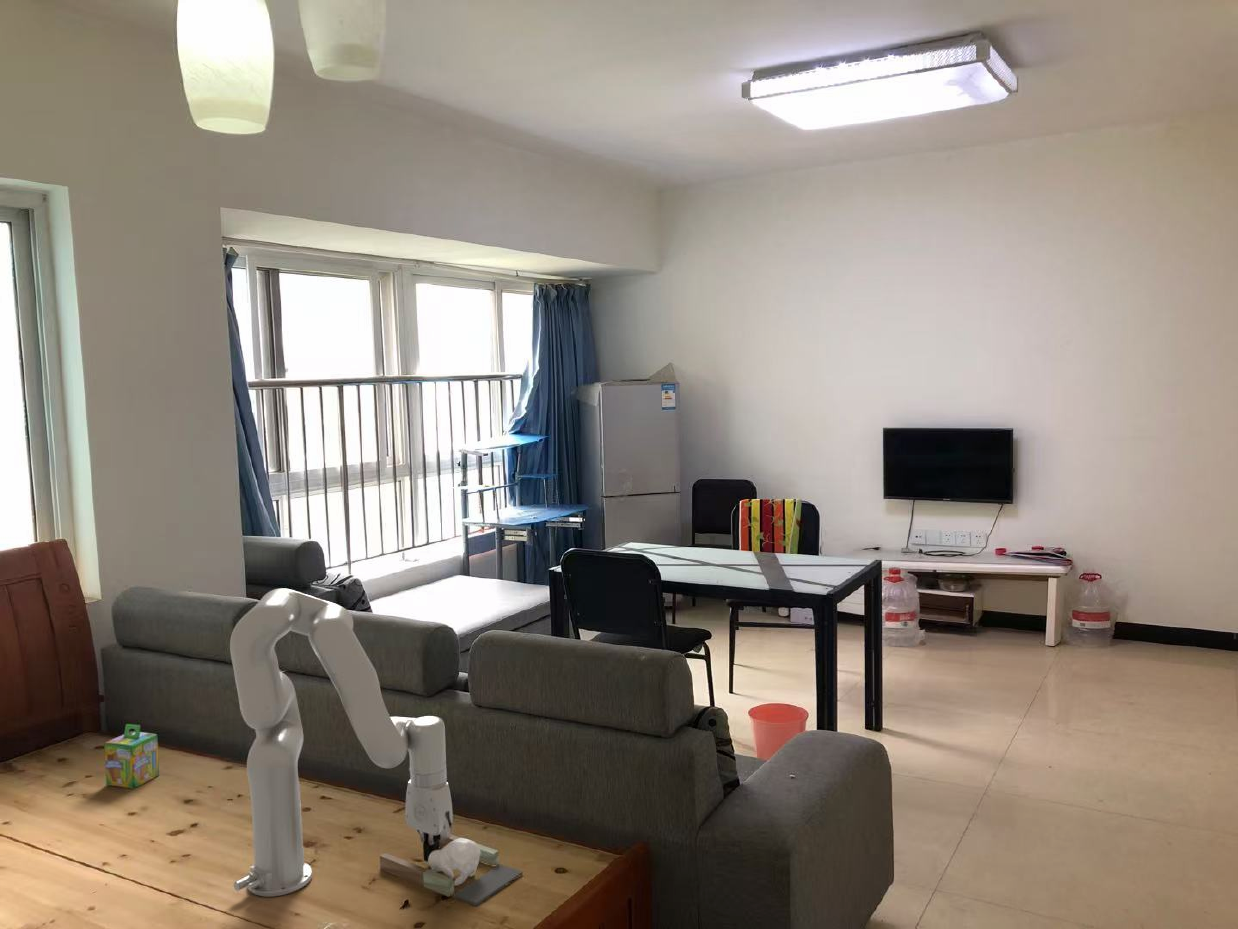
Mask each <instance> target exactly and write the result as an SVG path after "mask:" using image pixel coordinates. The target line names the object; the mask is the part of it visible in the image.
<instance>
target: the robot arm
mask: <svg viewBox="0 0 1238 929" xmlns="http://www.w3.org/2000/svg"><path fill="white" fill-rule="evenodd" d="M353 629H354V618H353V616H352V614H351V613H350V611H349V610H348V609H346V607H343V606H341V605H340V604H337V603H334V602H331V601H328V600H325V599H321V598H319V597H315V596H313V595H309V594H305V593H303V592H301V591H296V590H294V589H289V588H282V587H281V588H275V589H272V590H270V591H268V592H267V593H265V594H264V595H263V596H262V597H261V599H260V600H259V601H258V602H257V603H256V604H255V605H254V607H252V608H251V609H250V610H248V612H247V613H245V614H244V615H242V617H241V618H240V619H239V620H238V622H237V623H236V625H234V627H233V630H232V633H231V636H230V641H229V650H230V651H229V652H230V657H231V664H232V668H233V673H234V674H233V675H234V681H235V686H236V690H237V696H238V697H237V698H238V703H239V709H240V713H241V714H240V715H241V717H242V719H243V721H244V722H245V724H246V725H247V726H248V727H249V728H250V729H254V732H255V735H256V737H255V739H254V740H253V743H252V745H251V747H250V749H249V751H248V755H247V758H246V759H247V760H246V774H247V775H246V776H247V780H248V786H249V793H250V805H251V808H250V809H251V810H250V811H251V818H252V832H253V833H252V836H253V854H254V864H253V865H251V866H250V867H249V870H250V872H248V873H247V874H246V876H244V877H242V878H240V879H237V880H235V881H234V882H233V889H234V890H235V891H237V892H238V891H241V890H242V889H244V888H247V891H249V892H250V893H252V894H253V895H256V896H259V897H269V898H270V897H271V898H273V897H279V896H283V895H287V894H292V893H294V892H296V891H298V890H301V889H302V888H304V886H307V884H308V883H309V882H310V881H311V880H312V877H313V869H312V866H310V865H309V864H308V863H306V862H305V858H304V842H303V840H304V839H303V822H302V821H303V820H302V805H301V804H302V803H301V791H300V781H299V773H298V772H299V770H298V763H299V762H298V761H299V758H300V754H301V752H302V748H303V744H304V732H303V730H304V729H303V725H302V720H301V715H300V710H299V705H298V699H297V694H296V690H295V686H294V684H293V682H292V680H291V679H290V677H288V676H287V675H286V674H285V673H284V672H282V671H280V668H279V660H278V656H277V653H276V651H275V646H276V643H277V642H278V641H279V640H280V639H281V638H283V637H284V636H286V635H287V634H288V633H289V632H290V631H291V632H292V633H293V632H294V633H297V634H300V635H303V636H307V637H308V641H309V644H310V646H311V647H312V650H313V652H314V653H315V655H316V657H317V658H318V659H317V660H319V662H320V664H321V665H322V667H323V668H324V671H325V672H326V674H327V675H328V677H329V679H330V681H331V683H332V684H333V686H334V688H335V690H336V691H337V693H338V695H339V698H340V701H341V703H342V706H343V709H344V710H345V712H346V714H347V717H348V719H349V722H350V724H351V727H352V728H353V731H354V732H355V735H356V737H357V739H358V740H359V742H360V744H361V745H362V747H363V749H364V750H365V752H366V754H367V756H368V757H369V759H370V760H371V761H372V762H373V764H375V765H376V766H378V767H380V768H383V769H392V768H396V767H397V766H399V765H400V764H401V763H402V762H403V761H404V760H405V758H406V756H407V753H408V754H409V767H408V771H409V772H410V773H409V774H410V777H409V778H410V779H409V781H407V788H406V793H405V822H406V825H407V826H408V827H409V828H412V829H413V830H415V831H417V833H418V835H419V839H420V842H421V843H422V848H423V851H422V854H423V861H424V862H427V863H428V858H429V855H430V853H431V852H433V851H435V850H441V848H439V841H440V840H441V839H447V838H449V837H450V836H451V835H452V832H451V828H452V827H453V824H454V823H453V822H454V814H453V803H452V801H453V800H452V796H451V790H450V786H449V782H447V780H448V778H447V777H448V776H447V774H448V773H447V755H446V754H447V753H446V748H447V747H446V728H445V722H444V720H443V719H442V718H441V717H439V716H435V715H424V716H419V717H406V716H405V717H404V716H390V714H389V712H388V709H387V707H386V705H385V701H384V699H383V696H382V691H381V684H380V681H379V677H378V676H379V675H378V674H377V671H376V668H375V667H374V665H373V663H372V662H371V660H370V659H369V656H368V655H367V653H366V651H365V650H364V648H363V647H362V645H361V643H360V641H359V638H358V637H357V635H356V634H355V631H354V630H353Z"/></svg>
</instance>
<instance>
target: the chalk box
mask: <svg viewBox="0 0 1238 929" xmlns="http://www.w3.org/2000/svg"><path fill="white" fill-rule="evenodd" d="M132 729H133V731H132ZM130 730H131V731H130ZM158 739H159V738H158V735H157V734H156V733H153V732H152V733H151V732H145V731H141V725H140V724H133V723H132V724H131V723H125V727H124V733H123V734H122V735H119V736H117V737H115V738H112V739H111V740H108V741H105V742H104V755H105V757H104V758H105V777H106V778H105V780H106V781H105V784H106V786H112V787H113V786H114V787H119V788H127V789H133V790H134V789H136V788H138V787H140V786H141V785H144V784H146V783H147V782H149V781H151V780H153V779H155V778H157V777H159V776H160V765H159V764H160V762H159V760H160V759H159V743H158V742H159V741H158Z"/></svg>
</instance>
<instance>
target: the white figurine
mask: <svg viewBox="0 0 1238 929" xmlns="http://www.w3.org/2000/svg"><path fill="white" fill-rule="evenodd" d="M476 843H477V842H475V841H473V840H471V839H467V838H465V837H460V838H458V839H456V840H454V841H452V842H450V843H448V844H447V845H446V846H445V847H443V848H440V850H435V851H433V852H431V853H430V855H429V858H428V862H427V863H428V865H429V867H430V868H431V869H430V870H431V871H434V872H436V873H440V872H443V873H444V874H445V875H446V876H447V877H449V878H452V879H454V887H456V886H460V885H462V884H463V883H465V881H466V879H467V878H468V877H470V878H471V877H473V876H474V875H475V873H476V871H477V869H478V865H479V863H480V862H479V857H480V854H481V852H480V849H479V848H478V846H477V844H478V843H477V844H476ZM456 870H457V871H459V872H460V875H459V876H457V877H456V879H455V878H454V877H455V873H454V871H456Z"/></svg>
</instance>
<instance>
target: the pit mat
mask: <svg viewBox="0 0 1238 929" xmlns="http://www.w3.org/2000/svg"><path fill="white" fill-rule="evenodd" d="M522 873H523V871H521V870H519V869H516V868H513V867H510V866H507V865H504V864H502V863H499V865H497V866H496V867H493V868H492V869H490V870H489V871H488V872H486V873H484V874H482V876H480V877H478V878H477V879H475V880H473V881H472V882H470V883H469V884H467V885H466V886H464V887H463V888H461V889H459V890H458V891H457V892H454V894H453V897H454V898H455V899H458V900H461V901H463V902H465V903H468V904H471V905H473V906H476V907H477V906H478V905H480V904H481V903H483V902H484V901H486V900H487V899H489V898H491V897H492V896H493V895H495V894H496V893H498V892H499V891H500V889H501V890H502V889H504V888H505V887H506V886H507V885H506V884H507V883H509V882H511V881H512V880H513V879H514V878H516V877H518V876H519V875H521V874H522ZM521 876H522V875H521ZM518 878H519V877H518ZM512 882H513V881H512ZM512 882H511V883H512ZM509 884H510V883H509ZM505 885H506V886H505ZM504 886H505V887H504ZM497 891H498V892H497Z"/></svg>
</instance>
